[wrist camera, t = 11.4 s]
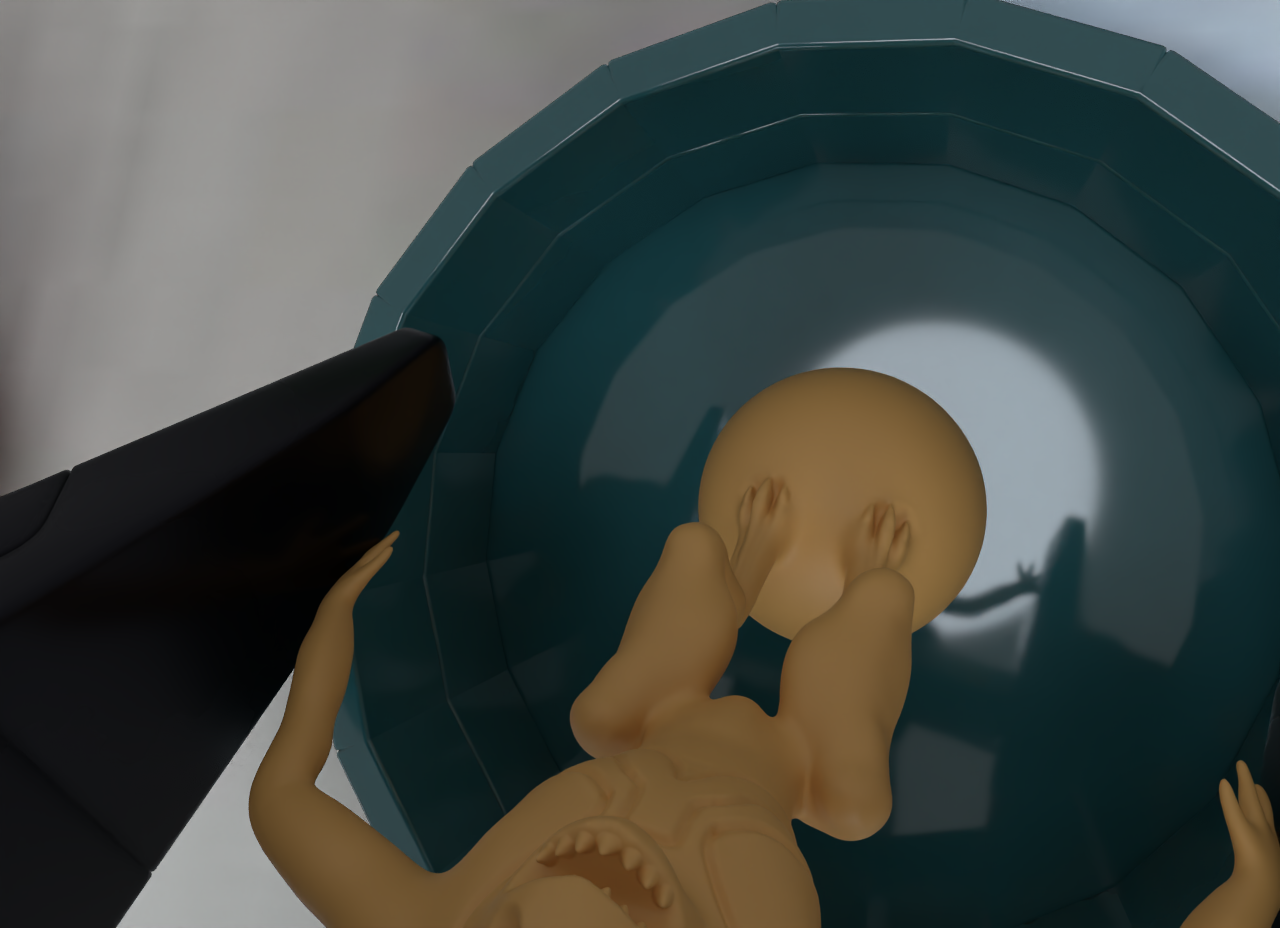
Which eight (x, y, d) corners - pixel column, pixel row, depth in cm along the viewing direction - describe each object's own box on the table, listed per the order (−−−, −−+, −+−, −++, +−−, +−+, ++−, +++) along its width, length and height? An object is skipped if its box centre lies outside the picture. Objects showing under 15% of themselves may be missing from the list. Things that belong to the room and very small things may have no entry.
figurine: (1156, 435, 14) (2254, 268, 2) (1062, 822, 14) (1641, 2280, 3) (635, 338, 16) (-52, 19, 5) (566, 670, 17) (-233, 1114, 5)
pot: (1426, 931, 13) (1705, 1192, 9) (553, 982, 17) (413, 1182, 13) (1198, 17, 14) (1338, -207, 9) (412, 265, 18) (228, 195, 13)
